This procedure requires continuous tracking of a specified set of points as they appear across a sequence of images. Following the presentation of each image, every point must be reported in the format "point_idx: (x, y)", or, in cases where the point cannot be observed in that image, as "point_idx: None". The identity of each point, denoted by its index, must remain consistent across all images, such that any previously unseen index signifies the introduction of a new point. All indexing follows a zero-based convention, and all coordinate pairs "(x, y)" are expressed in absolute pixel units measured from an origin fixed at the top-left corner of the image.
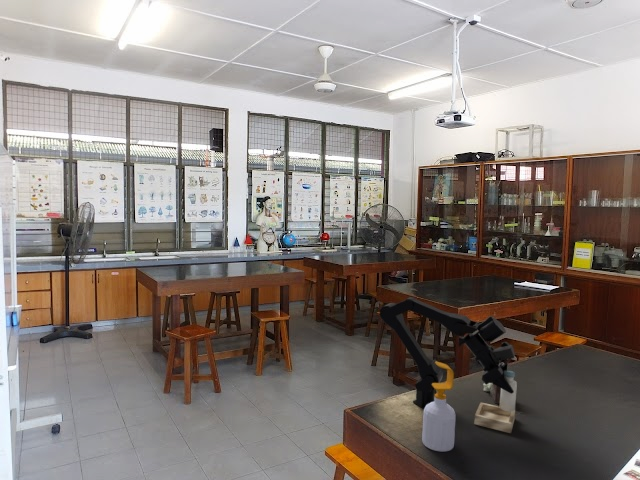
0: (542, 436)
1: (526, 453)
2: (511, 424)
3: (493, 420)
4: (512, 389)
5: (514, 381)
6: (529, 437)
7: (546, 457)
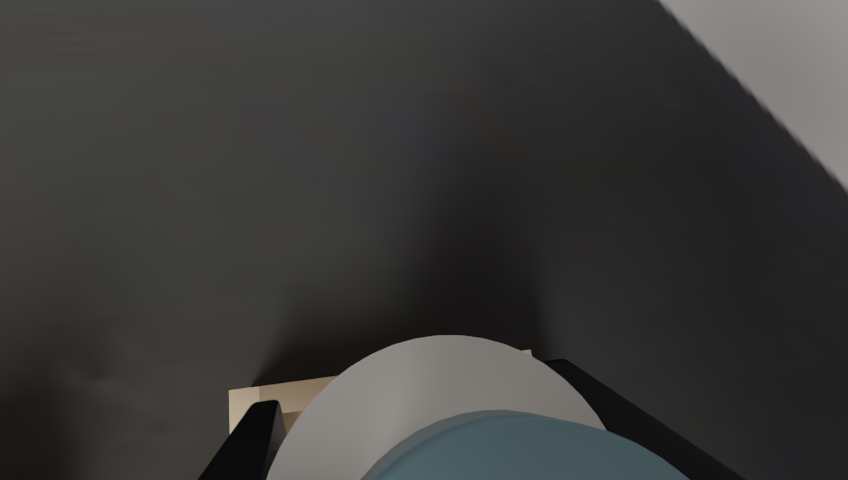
0: (409, 178)
1: (674, 224)
2: (528, 350)
3: None
4: (584, 382)
5: (356, 414)
6: (478, 241)
7: (635, 134)
